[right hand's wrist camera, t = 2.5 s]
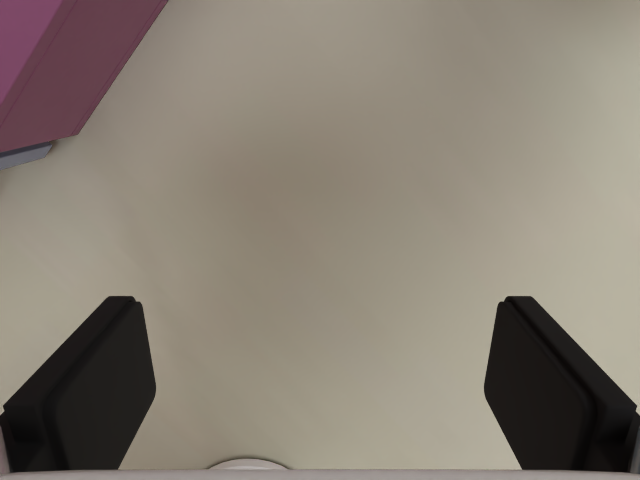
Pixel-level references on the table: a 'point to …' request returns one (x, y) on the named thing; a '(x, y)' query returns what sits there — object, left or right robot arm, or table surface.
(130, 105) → the table surface
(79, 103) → the cabinet
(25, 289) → the table surface
